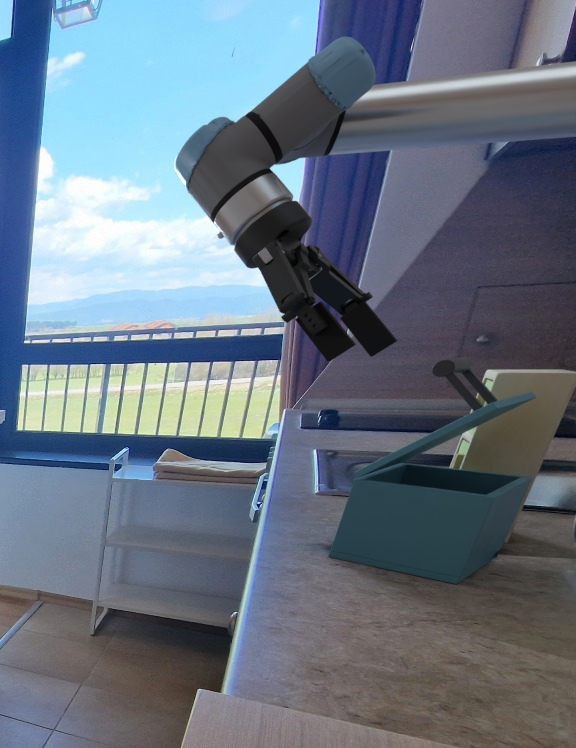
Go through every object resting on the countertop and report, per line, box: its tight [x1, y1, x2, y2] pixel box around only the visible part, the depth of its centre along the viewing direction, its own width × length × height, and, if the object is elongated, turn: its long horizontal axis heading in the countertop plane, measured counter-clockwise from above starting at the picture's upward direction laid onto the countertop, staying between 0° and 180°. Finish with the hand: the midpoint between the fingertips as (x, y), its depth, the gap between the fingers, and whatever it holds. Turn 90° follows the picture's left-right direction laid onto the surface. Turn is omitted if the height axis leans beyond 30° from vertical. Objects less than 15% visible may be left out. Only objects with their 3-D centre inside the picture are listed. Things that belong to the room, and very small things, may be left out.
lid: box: [353, 356, 536, 478], centre depth 73 cm, size 12×16×8 cm
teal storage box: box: [328, 462, 533, 585], centre depth 75 cm, size 12×16×10 cm
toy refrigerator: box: [448, 369, 576, 544], centre depth 79 cm, size 8×7×21 cm
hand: (364, 351), depth 77 cm, fingers open, 13 cm apart
